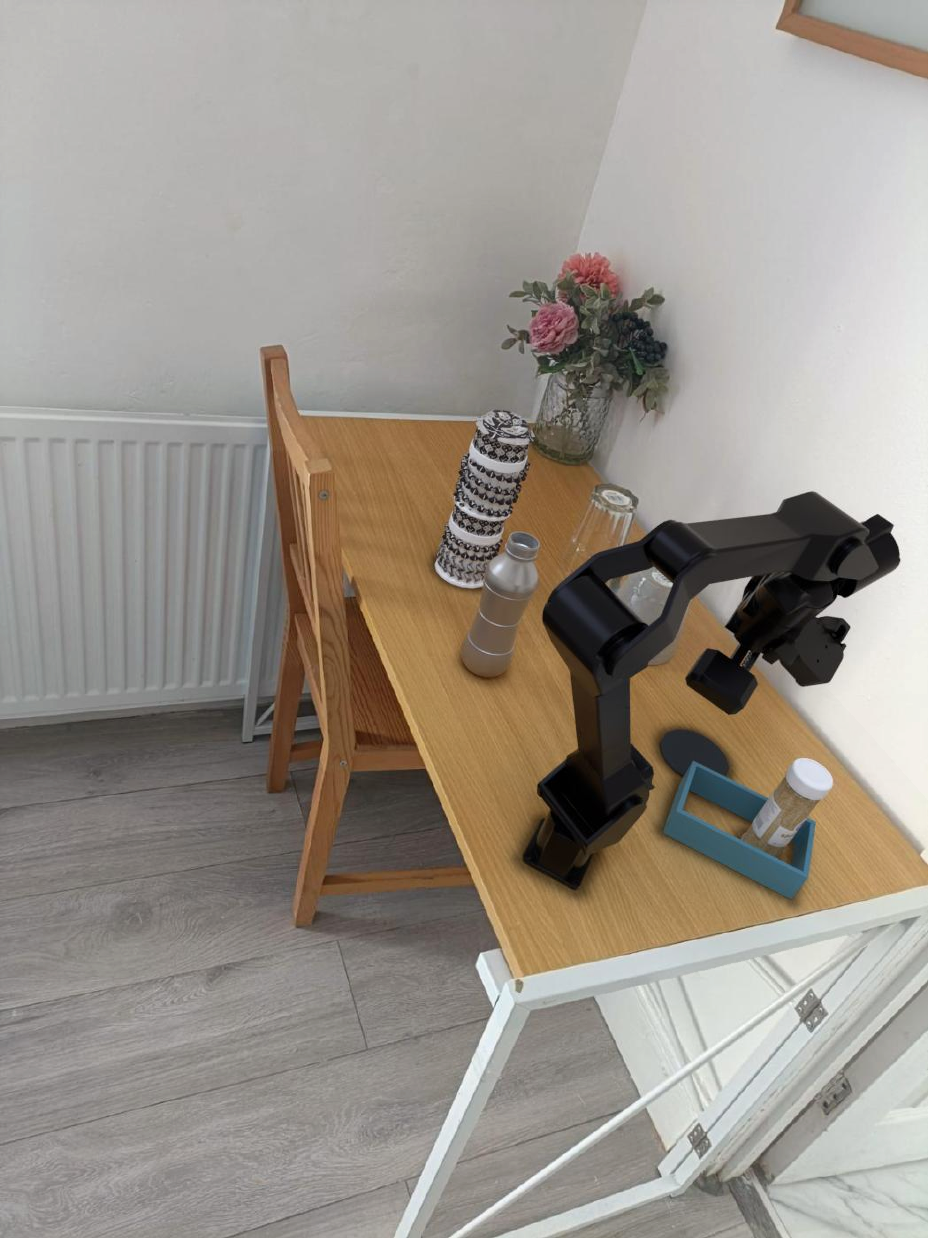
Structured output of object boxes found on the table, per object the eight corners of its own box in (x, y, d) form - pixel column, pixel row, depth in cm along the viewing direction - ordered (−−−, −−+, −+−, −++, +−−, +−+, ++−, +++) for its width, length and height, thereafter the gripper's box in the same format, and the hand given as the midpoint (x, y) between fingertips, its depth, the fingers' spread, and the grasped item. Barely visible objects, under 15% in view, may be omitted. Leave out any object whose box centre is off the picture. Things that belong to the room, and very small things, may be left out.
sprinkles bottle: (771, 873, 98) (830, 796, 90) (734, 851, 100) (789, 773, 92) (780, 847, 102) (838, 771, 94) (743, 826, 103) (798, 749, 95)
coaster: (721, 796, 106) (722, 795, 106) (652, 762, 108) (653, 760, 108) (733, 752, 113) (734, 750, 113) (668, 720, 115) (669, 718, 115)
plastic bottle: (503, 689, 111) (550, 563, 99) (452, 674, 111) (493, 546, 99) (510, 658, 116) (555, 534, 104) (461, 643, 116) (500, 518, 104)
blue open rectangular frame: (790, 900, 96) (808, 878, 94) (662, 833, 99) (676, 810, 97) (799, 843, 103) (816, 821, 101) (679, 782, 106) (693, 760, 104)
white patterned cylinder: (502, 589, 129) (554, 438, 114) (444, 591, 125) (490, 434, 110) (479, 552, 135) (526, 404, 120) (424, 553, 131) (465, 399, 116)
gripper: (816, 723, 80) (743, 767, 95) (894, 584, 88) (815, 643, 102) (714, 651, 82) (657, 705, 96) (799, 521, 90) (735, 588, 104)
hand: (720, 660), depth 99 cm, fingers open, 9 cm apart
